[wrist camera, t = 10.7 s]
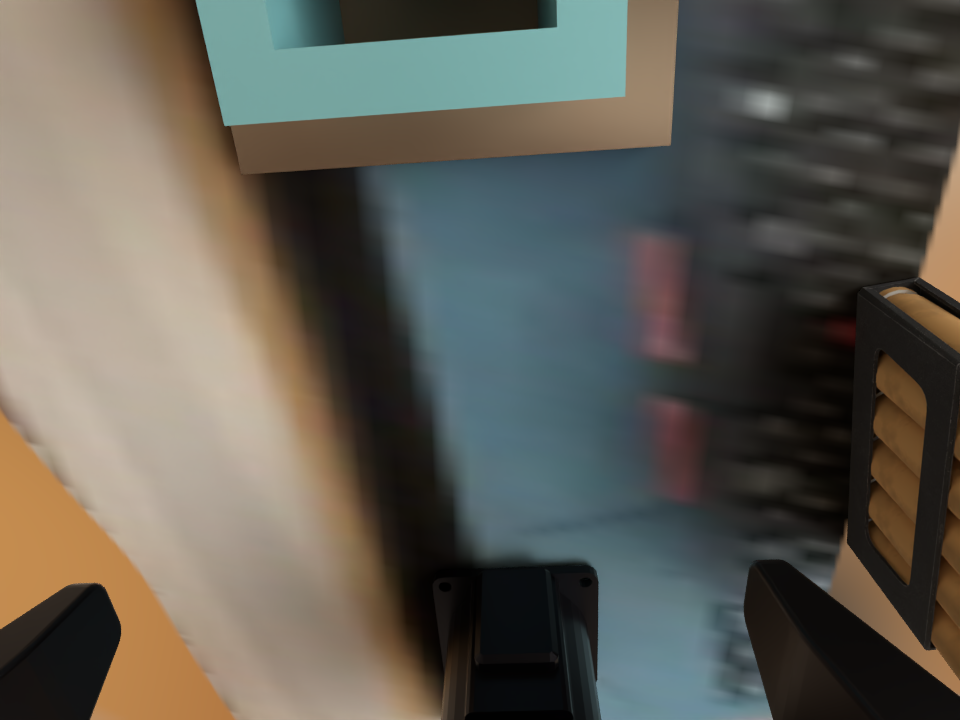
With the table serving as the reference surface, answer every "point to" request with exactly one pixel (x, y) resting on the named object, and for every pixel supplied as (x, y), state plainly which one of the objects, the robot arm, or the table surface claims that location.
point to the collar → (404, 62)
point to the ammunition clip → (909, 456)
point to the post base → (482, 130)
